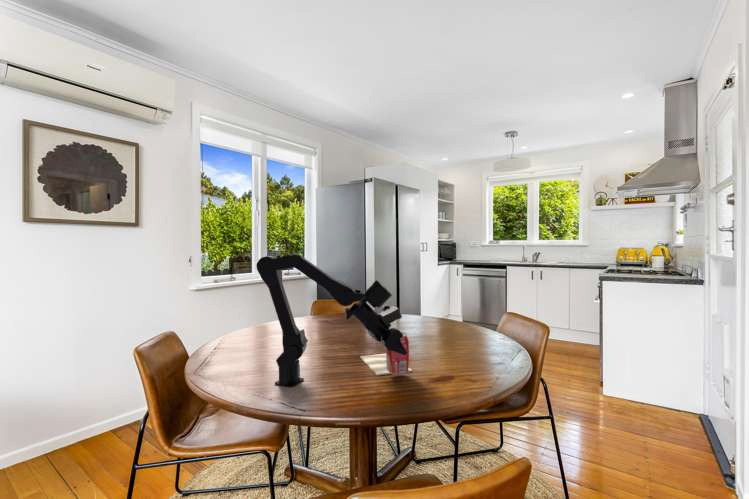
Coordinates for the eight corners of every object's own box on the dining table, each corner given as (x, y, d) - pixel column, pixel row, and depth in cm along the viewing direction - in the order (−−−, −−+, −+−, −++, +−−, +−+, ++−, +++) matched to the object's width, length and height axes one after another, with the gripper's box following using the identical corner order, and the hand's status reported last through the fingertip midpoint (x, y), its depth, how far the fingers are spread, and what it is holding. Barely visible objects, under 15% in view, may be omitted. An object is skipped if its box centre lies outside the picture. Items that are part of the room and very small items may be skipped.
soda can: (395, 366, 123) (395, 330, 123) (413, 371, 118) (413, 333, 118) (381, 372, 117) (381, 334, 117) (400, 377, 113) (400, 338, 113)
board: (411, 371, 123) (411, 369, 123) (377, 375, 119) (377, 373, 119) (390, 354, 142) (390, 353, 142) (360, 357, 138) (360, 356, 138)
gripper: (396, 302, 108) (431, 338, 111) (376, 294, 125) (407, 325, 129) (370, 332, 105) (406, 367, 109) (353, 319, 123) (385, 350, 126)
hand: (401, 350), depth 118 cm, fingers closed on soda can, 7 cm apart
